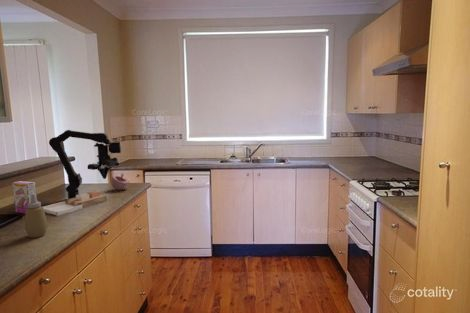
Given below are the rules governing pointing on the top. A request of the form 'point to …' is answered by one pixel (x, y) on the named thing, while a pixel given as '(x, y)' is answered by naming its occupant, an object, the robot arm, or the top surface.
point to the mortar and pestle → (119, 182)
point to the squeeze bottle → (35, 219)
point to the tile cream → (82, 196)
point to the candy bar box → (23, 195)
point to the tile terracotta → (93, 193)
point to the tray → (60, 208)
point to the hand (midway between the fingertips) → (104, 178)
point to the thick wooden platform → (87, 201)
